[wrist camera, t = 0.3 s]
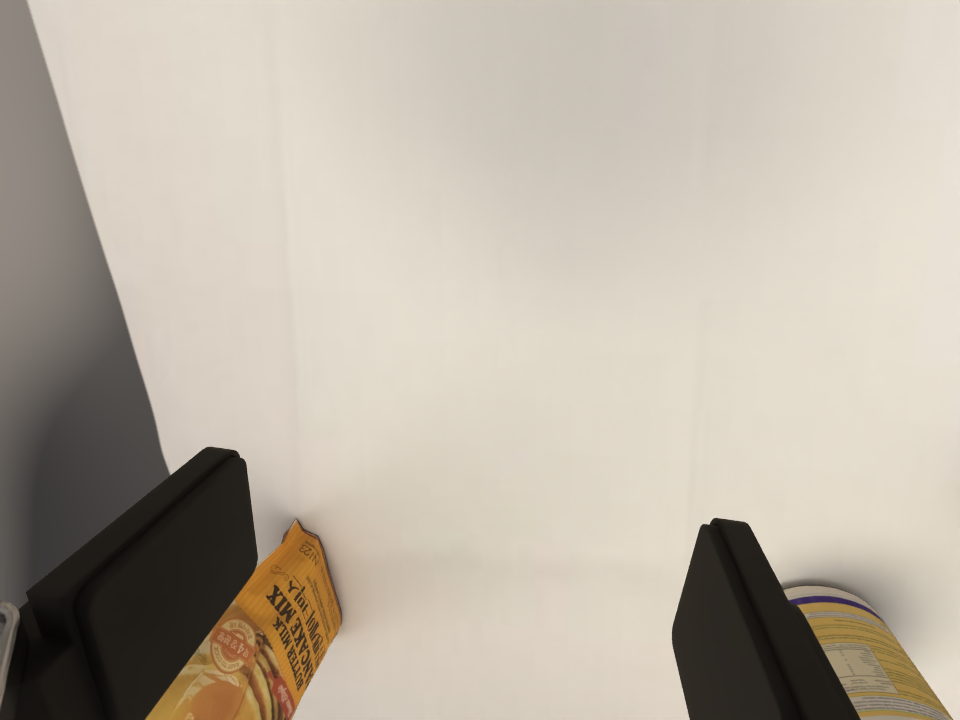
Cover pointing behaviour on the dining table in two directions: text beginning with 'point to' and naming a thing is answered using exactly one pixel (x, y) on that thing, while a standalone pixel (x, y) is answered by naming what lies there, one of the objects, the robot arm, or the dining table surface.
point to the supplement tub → (866, 657)
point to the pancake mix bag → (262, 641)
